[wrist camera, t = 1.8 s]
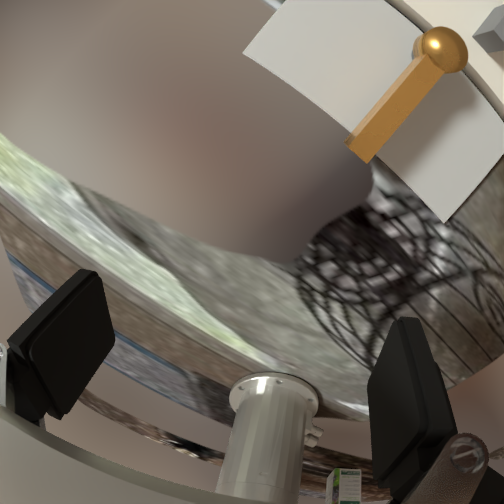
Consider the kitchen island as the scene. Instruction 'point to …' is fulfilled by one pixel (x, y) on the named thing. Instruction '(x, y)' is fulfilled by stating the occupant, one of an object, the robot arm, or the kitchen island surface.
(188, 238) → the kitchen island surface
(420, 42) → the latch bar
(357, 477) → the syrup box
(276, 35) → the door mock-up
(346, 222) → the kitchen island surface
